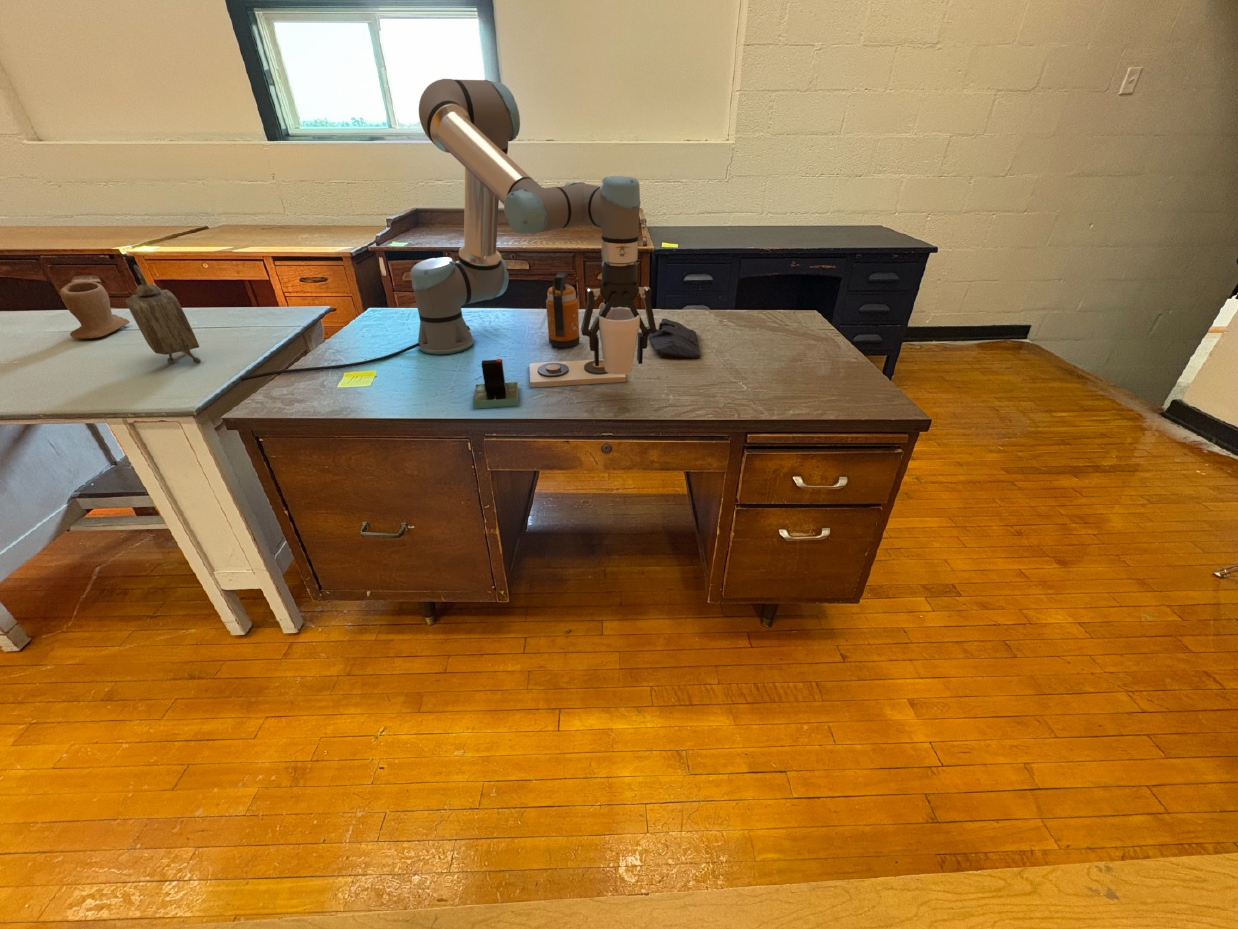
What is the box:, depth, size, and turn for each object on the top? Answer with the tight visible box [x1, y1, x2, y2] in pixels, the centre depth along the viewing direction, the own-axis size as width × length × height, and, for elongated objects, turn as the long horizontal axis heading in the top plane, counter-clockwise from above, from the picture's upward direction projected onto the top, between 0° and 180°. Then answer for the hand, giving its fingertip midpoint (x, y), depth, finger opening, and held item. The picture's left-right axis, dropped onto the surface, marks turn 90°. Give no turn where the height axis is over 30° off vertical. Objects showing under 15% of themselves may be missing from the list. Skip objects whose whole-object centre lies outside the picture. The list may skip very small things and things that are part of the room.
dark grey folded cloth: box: [648, 318, 702, 359], centre depth 152 cm, size 15×22×5 cm
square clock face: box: [472, 381, 519, 410], centre depth 124 cm, size 10×9×2 cm
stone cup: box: [59, 280, 131, 339], centre depth 155 cm, size 15×12×15 cm
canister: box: [545, 272, 580, 348], centre depth 148 cm, size 9×11×20 cm
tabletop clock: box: [125, 264, 202, 364], centre depth 135 cm, size 14×9×25 cm, turn 47°
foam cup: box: [596, 307, 641, 375], centre depth 118 cm, size 10×9×13 cm
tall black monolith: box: [481, 358, 506, 393], centre depth 121 cm, size 5×2×8 cm, turn 99°
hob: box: [529, 358, 627, 388], centre depth 135 cm, size 24×12×3 cm, turn 99°
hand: (618, 362), depth 121 cm, fingers closed on foam cup, 9 cm apart
